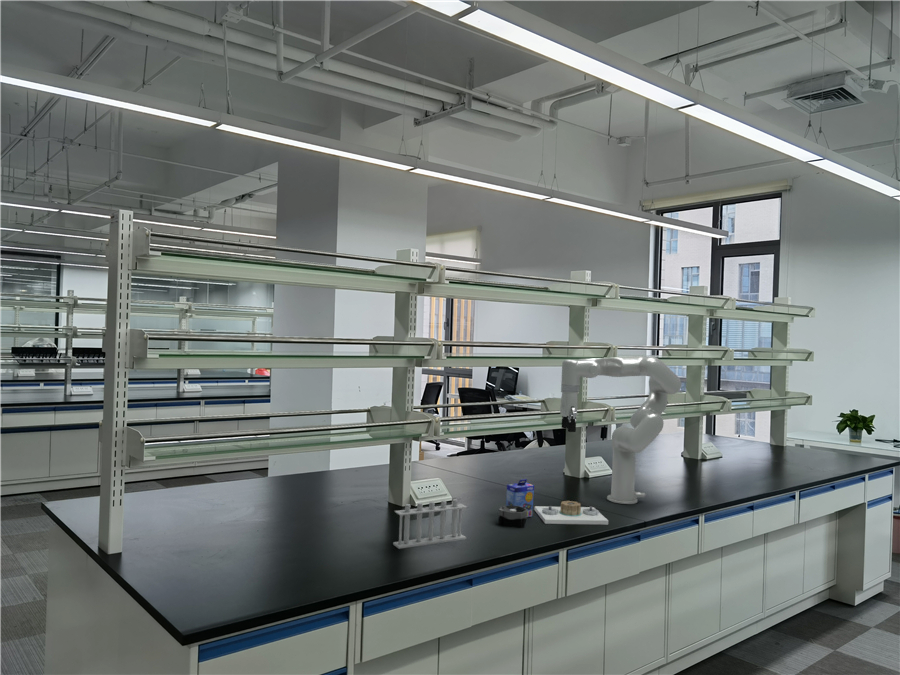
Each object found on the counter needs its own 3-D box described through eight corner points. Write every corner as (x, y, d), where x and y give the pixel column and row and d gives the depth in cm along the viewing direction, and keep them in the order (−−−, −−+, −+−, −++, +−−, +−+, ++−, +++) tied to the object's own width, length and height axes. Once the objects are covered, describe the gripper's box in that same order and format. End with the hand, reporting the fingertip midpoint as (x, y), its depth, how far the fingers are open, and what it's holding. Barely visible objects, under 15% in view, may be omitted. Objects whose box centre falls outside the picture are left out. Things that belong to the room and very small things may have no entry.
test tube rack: (398, 549, 206) (400, 507, 206) (392, 544, 210) (394, 504, 210) (466, 539, 219) (467, 500, 218) (459, 535, 222) (461, 497, 222)
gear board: (593, 511, 260) (594, 498, 260) (608, 524, 242) (608, 510, 242) (534, 510, 258) (535, 497, 258) (545, 523, 240) (545, 509, 240)
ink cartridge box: (513, 519, 243) (515, 481, 243) (504, 516, 248) (506, 478, 248) (533, 516, 249) (535, 478, 249) (524, 512, 254) (525, 475, 253)
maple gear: (577, 510, 254) (577, 500, 254) (582, 515, 247) (583, 506, 247) (558, 509, 254) (558, 500, 254) (563, 515, 246) (563, 505, 246)
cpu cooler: (528, 506, 243) (525, 513, 233) (527, 521, 243) (525, 529, 233) (500, 503, 245) (497, 510, 235) (500, 518, 245) (496, 526, 235)
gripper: (556, 387, 280) (554, 426, 280) (566, 390, 263) (565, 433, 263) (573, 387, 281) (571, 427, 281) (585, 391, 264) (583, 433, 264)
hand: (568, 429), depth 272 cm, fingers open, 9 cm apart
